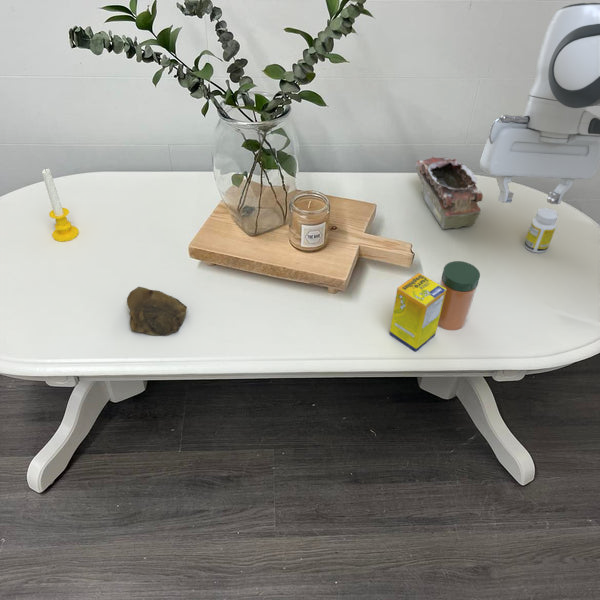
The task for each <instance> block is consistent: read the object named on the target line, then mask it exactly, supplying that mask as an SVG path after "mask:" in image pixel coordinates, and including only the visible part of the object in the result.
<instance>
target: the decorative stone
mask: <svg viewBox="0 0 600 600" xmlns="http://www.w3.org/2000/svg"><path fill="white" fill-rule="evenodd" d="M126 306H127V307H128V310H129V317H130V319H129V327H130V331H132V332H136V333H143V334H147V335H149V336H160V337H161V336H169V335H171V334H172V333H174V332H178V331H179V329H180V327H181V326H182V324H183V323H184V320H185V319H186V315H187V309H188V306H186V304H184V303H183V302H181V300H179V299H178V298H176V297H174V296H172V295H170V294H167V293H164V292H163V291H160V290H155V289H149V288H147V287H143V286H137V287H135V288H134V289H132V290H131V291H130V292H129V294H128V296H127V298H126Z"/></svg>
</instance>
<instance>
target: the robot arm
mask: <svg viewBox="0 0 600 600" xmlns="http://www.w3.org/2000/svg"><path fill="white" fill-rule="evenodd" d="M590 107H600V2H579V3H572V4H569V5H565V6H562V7H561V8H559V9H557V10H556V11H555V13H554V14H553V16H552V17H551V19H550V21H549V22H548V25H547V27H546V29H545V32H544V36H543V38H542V42H541V45H540V48H539V51H538V55H537V58H536V63H535V78H534V82H533V83H532V86H531V88H530V89H529V91H528V95H527V99H526V103H525V107H524V111H523V114H522V115H510V114H502V115H501V116H500V117H497V118H496V119H495V120H494V121H493V122H491V124H490V127H489V132H488V137H487V140H486V142H485V144H484V147H483V151H482V154H481V156H480V157H481V158H480V160H479V167H480V169H481V171H482V172H483V173H485V174H488V175H489V176H495V177H496V182H497V186H498V189H499V194H498V198H497V201H498V202H500V203H503V204H509V203H510V204H511V203H512V201H513V197H514V192H512V191H510V189H509V184H511V182H512V180H513V177H520V178H542V179H543V178H545V179H557V182H558V185H557V186H556V187H555V188H554V190H553V191H549V192H548V197H547V199H546V202H547V203H548V204H551V205H560V204H561V203H562V199H563V196H564V195H565V194H566V193H567V192H568V191H569V190H570V188H572V186H573V184H574V181H575V180H591V179H592V178H594V176H595V175H596V174H597V173H598V172H599V168H600V116H598V115H596V114H594V113H592V112H590V111H588V110H587V108H590Z"/></svg>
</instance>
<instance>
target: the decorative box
mask: <svg viewBox="0 0 600 600" xmlns="http://www.w3.org/2000/svg"><path fill="white" fill-rule="evenodd" d="M415 171H416V173H417V176H418V178H419V181H420V184H421V186H422V190H421V191H422V196H423V197H422V198H423V201H424V202H425V204H426V206H427V207H428V209H429V210H430V211H431V214H433V216H434V218H435V220H436V221H437V223H438V224H439V226H440V227H441V229H442V230H447V229H453V228H454V229H460V228H462V227H467V226H473V225H475V223H476V221H477V219H478V218H479V216H480V214H481V208H480V206H479V204H478V202H479V203H480V202H482V201H483V198H484V195H483V192H482V191H481V190H479V189H478V187H477V183H478V178H477V177H476V175H475V173H474V171H472V170H471V169H470V168H468V167H467V166H466V165H465V164H463V163H461V162H458V159H456V158H453V159H451V158H450V157H447V156H445V157H434V156H433V157H430V158H426V159H423V160H422V159H419V160H417V161H416V163H415Z"/></svg>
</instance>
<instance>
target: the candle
mask: <svg viewBox="0 0 600 600" xmlns="http://www.w3.org/2000/svg"><path fill="white" fill-rule="evenodd" d="M41 173H42V177H43V182H44V185H45V187H46V191H47V193H48V198H49V200H50V205H51V207H52V209H51V211H49V213H48V216H49V217H50V218H51V219H55V225H54V228H55V229H54V230H53V231H52V233H51V237H52V238H53V240H54V241H56V242H60V243H62V242H63V243H65V242H70V241H72V240H74V239H76V238H77V237H78V235H79V234H80V233H79V228H78V227H76V226H75V225H72V222H71V221H70V220H68V218H67V216H68V215H69V214H70V210H69V209H68V208H67V207H62V204H61V200H60V197H59V193H58V190H57V188H56V184H55V181H54V178H53V174H52V172H51V169H50V168H44V169H43V170H42V171H41Z"/></svg>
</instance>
